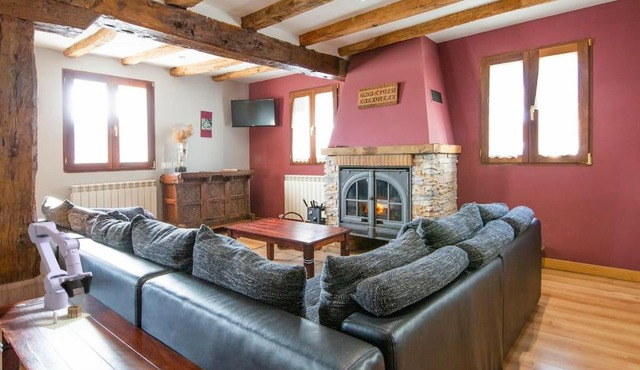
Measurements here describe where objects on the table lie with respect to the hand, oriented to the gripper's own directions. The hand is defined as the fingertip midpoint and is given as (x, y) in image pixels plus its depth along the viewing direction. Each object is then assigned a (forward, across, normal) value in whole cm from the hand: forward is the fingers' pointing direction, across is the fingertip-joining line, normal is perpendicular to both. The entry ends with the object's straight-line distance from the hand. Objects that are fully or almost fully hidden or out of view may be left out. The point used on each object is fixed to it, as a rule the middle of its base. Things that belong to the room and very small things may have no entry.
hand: (79, 295), depth 171 cm
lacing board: (+10, -4, +6) cm, 12 cm away
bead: (+8, 0, +6) cm, 10 cm away
